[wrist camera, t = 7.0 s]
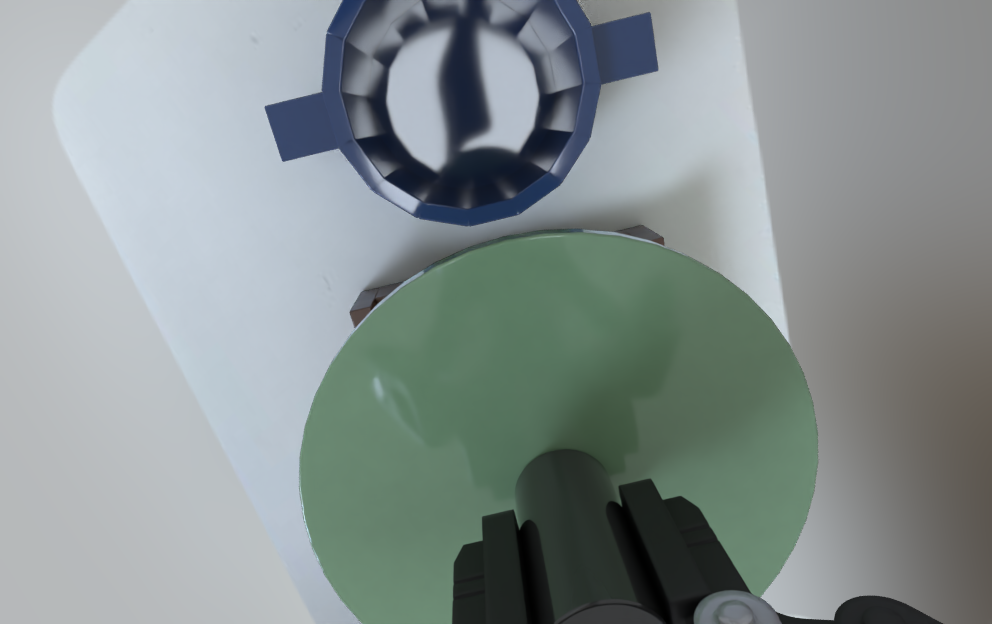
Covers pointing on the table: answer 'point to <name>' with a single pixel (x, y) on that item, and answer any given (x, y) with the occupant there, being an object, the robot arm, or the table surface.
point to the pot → (462, 99)
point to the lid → (553, 427)
